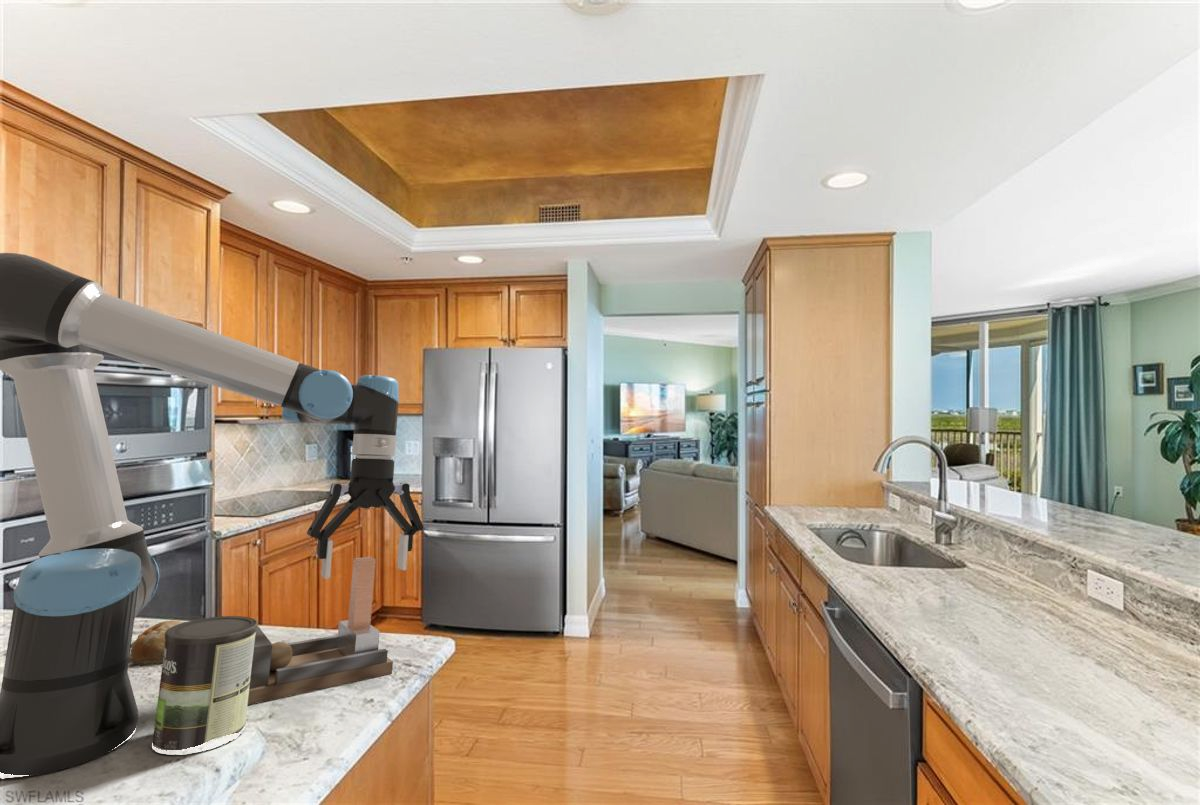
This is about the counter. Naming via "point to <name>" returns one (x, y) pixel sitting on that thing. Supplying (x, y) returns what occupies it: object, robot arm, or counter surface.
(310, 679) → the base
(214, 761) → the counter surface
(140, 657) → the bread roll
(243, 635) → the coffee can
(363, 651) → the sliding jaw
